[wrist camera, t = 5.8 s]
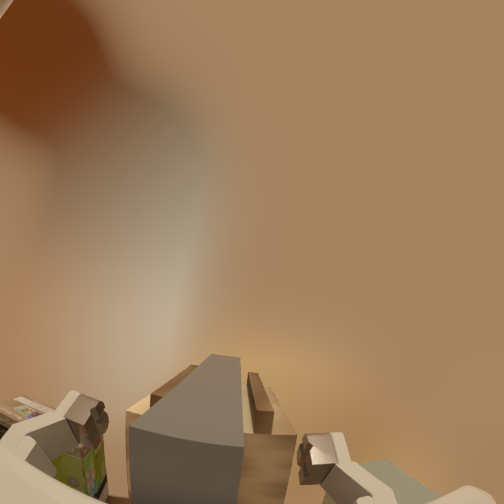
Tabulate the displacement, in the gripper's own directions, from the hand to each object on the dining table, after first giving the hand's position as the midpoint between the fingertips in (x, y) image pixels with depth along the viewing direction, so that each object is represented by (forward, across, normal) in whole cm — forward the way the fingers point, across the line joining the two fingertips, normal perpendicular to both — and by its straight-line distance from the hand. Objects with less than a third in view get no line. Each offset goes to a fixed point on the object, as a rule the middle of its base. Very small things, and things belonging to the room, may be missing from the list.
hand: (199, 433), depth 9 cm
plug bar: (+6, 0, +5) cm, 8 cm away
